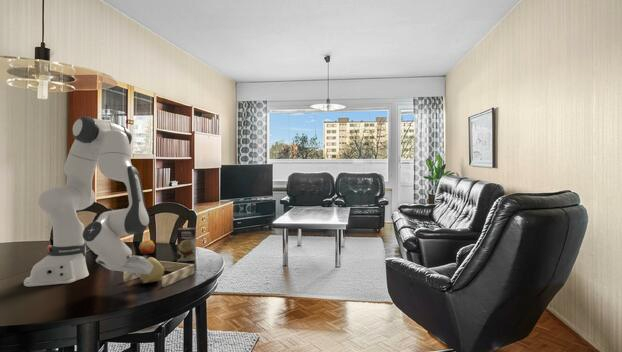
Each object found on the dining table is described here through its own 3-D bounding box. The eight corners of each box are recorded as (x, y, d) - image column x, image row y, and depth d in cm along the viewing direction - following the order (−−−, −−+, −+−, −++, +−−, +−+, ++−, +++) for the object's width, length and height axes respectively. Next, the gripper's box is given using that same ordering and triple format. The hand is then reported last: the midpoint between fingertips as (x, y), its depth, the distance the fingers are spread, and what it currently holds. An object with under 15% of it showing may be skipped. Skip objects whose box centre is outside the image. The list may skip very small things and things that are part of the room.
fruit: (158, 248, 207) (155, 237, 202) (154, 258, 200) (150, 247, 196) (144, 248, 206) (141, 237, 202) (139, 258, 200) (135, 247, 195)
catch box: (164, 287, 145) (163, 277, 145) (123, 281, 151) (123, 272, 151) (194, 273, 164) (194, 264, 164) (157, 269, 170) (157, 260, 170)
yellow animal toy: (160, 277, 158) (160, 252, 158) (166, 284, 148) (166, 257, 148) (135, 281, 153) (135, 255, 152) (140, 288, 143) (140, 260, 143)
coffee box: (176, 261, 183) (176, 229, 183) (177, 258, 190) (177, 227, 189) (195, 260, 186) (195, 229, 185) (196, 257, 192) (196, 226, 192)
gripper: (145, 250, 134) (163, 270, 144) (102, 246, 141) (122, 265, 150) (136, 265, 130) (155, 284, 140) (91, 260, 137) (113, 279, 146)
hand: (138, 274), depth 145 cm, fingers closed, pressing on yellow animal toy
